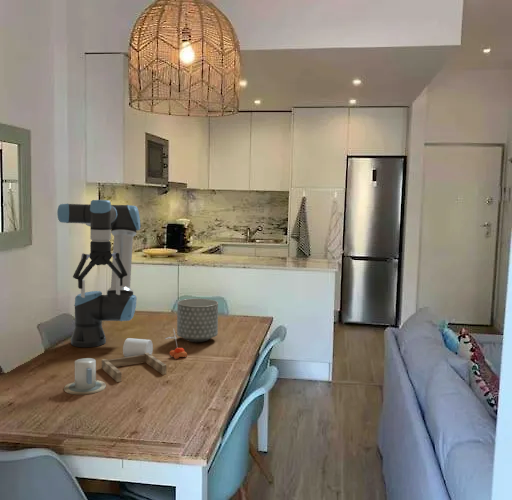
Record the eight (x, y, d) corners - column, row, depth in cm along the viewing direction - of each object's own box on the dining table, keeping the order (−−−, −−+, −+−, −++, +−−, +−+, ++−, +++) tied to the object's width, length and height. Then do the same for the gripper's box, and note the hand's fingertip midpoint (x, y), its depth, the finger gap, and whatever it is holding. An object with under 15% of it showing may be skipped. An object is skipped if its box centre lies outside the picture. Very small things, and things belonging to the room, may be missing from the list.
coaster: (59, 384, 191) (59, 383, 190) (99, 378, 198) (99, 377, 198) (69, 397, 179) (69, 396, 179) (111, 390, 186) (111, 389, 186)
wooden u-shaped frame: (101, 368, 210) (101, 359, 210) (148, 361, 220) (148, 352, 220) (117, 382, 195) (117, 372, 194) (166, 373, 205) (166, 364, 205)
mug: (145, 361, 220) (145, 342, 219) (122, 359, 222) (122, 340, 221) (156, 353, 231) (156, 335, 231) (134, 351, 233) (135, 333, 233)
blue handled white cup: (92, 381, 193) (92, 357, 192) (100, 389, 186) (100, 363, 185) (72, 384, 190) (72, 359, 189) (79, 392, 182) (79, 367, 181)
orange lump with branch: (166, 354, 230) (166, 327, 229) (188, 355, 230) (188, 328, 229) (163, 359, 224) (163, 330, 223) (186, 359, 224) (186, 331, 223)
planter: (169, 342, 249) (169, 303, 247) (189, 333, 267) (189, 297, 265) (205, 347, 242) (206, 308, 240) (224, 337, 260) (224, 300, 258)
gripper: (128, 239, 215) (128, 291, 217) (64, 240, 201) (64, 296, 203) (135, 240, 208) (135, 294, 210) (69, 242, 195) (69, 300, 197)
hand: (100, 295), depth 207 cm, fingers open, 13 cm apart
